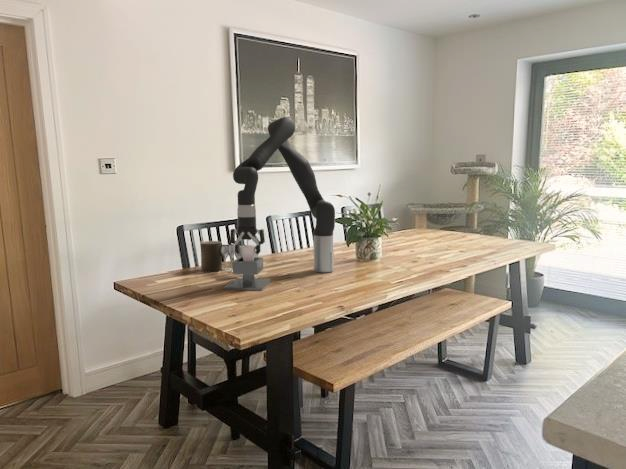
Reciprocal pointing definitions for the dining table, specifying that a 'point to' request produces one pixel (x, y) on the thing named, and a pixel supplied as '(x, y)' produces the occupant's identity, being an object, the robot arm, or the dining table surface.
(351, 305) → the dining table surface
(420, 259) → the dining table surface
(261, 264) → the stand
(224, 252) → the goblet set
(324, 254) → the robot arm
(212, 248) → the pillar candle
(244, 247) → the smoothie
